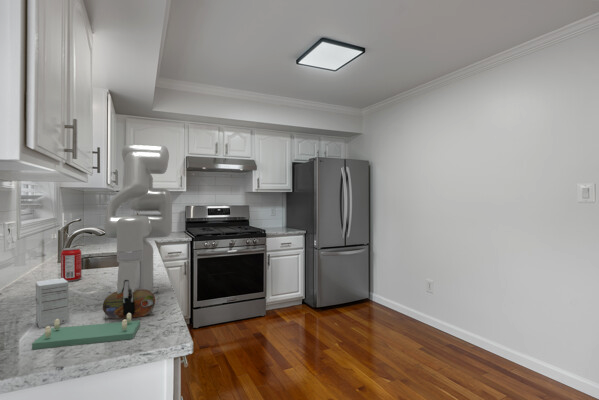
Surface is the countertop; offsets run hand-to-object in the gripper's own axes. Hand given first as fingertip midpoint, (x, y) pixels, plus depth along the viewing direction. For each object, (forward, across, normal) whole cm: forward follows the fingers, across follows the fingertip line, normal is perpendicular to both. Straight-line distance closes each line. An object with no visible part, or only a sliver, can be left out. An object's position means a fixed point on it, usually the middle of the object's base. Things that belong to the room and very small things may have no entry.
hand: (130, 312), depth 106 cm
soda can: (+1, -59, -37) cm, 70 cm away
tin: (+1, 0, 0) cm, 2 cm away
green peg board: (+1, +14, -7) cm, 16 cm away
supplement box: (+1, -1, -22) cm, 22 cm away
